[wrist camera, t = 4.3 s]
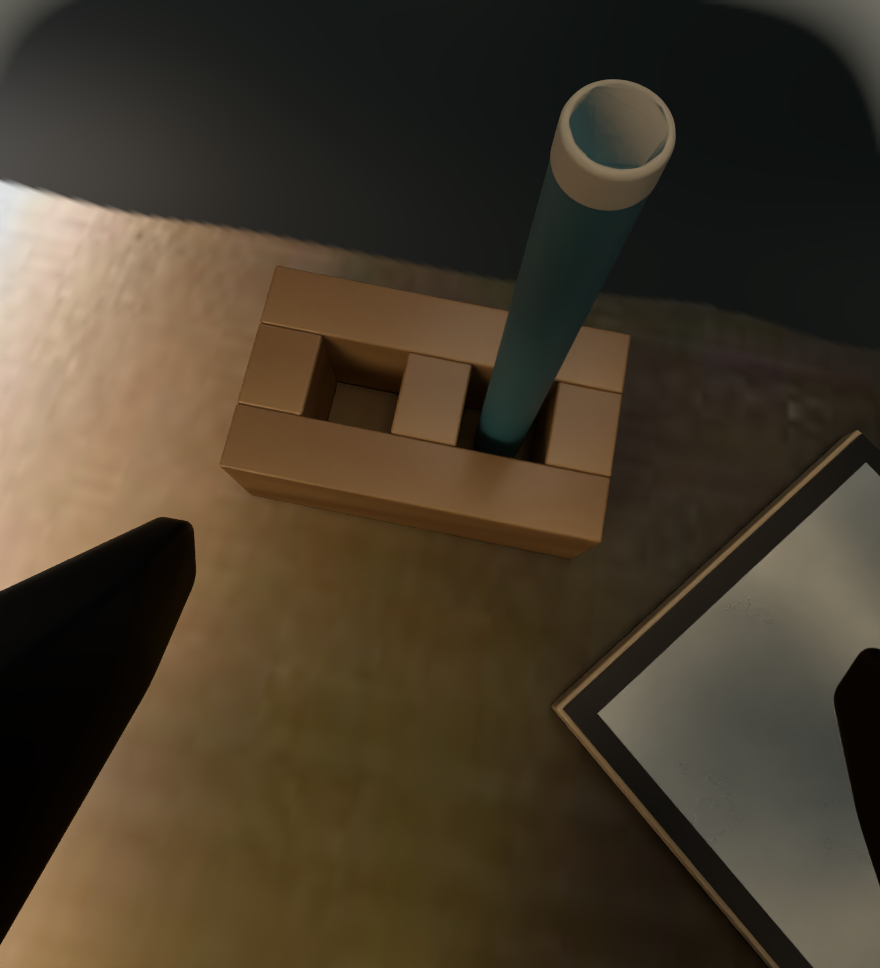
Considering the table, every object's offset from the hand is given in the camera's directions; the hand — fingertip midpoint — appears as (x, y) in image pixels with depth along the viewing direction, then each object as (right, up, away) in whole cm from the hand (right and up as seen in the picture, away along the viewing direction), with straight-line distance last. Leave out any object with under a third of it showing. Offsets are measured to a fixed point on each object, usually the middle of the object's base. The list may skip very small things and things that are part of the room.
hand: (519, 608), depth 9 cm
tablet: (+12, -7, +11) cm, 18 cm away
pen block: (-1, +3, +13) cm, 13 cm away
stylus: (+1, +3, +13) cm, 13 cm away
